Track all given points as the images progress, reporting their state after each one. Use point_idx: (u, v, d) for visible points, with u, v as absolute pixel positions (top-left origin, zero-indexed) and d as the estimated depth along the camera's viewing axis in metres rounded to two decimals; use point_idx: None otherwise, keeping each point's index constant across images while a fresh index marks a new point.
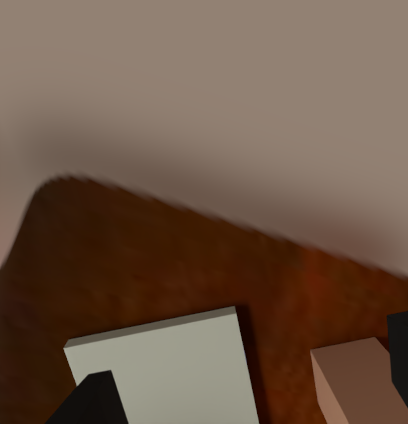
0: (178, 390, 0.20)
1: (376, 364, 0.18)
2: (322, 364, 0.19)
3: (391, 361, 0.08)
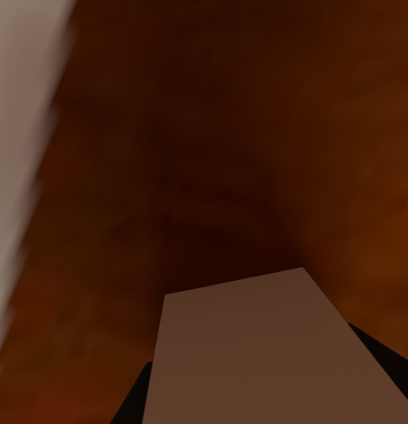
0: None
1: None
2: None
3: None
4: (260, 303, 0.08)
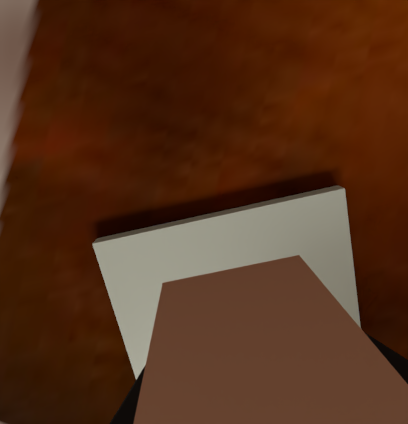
0: None
1: None
2: None
3: None
4: (256, 288, 0.08)
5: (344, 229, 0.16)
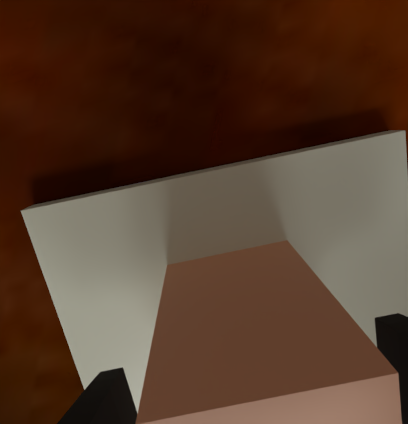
0: None
1: None
2: None
3: None
4: (248, 267, 0.09)
5: (401, 194, 0.10)
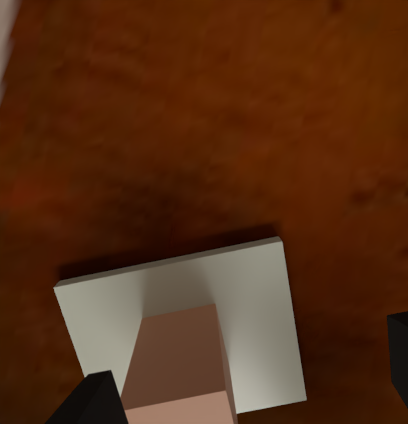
0: None
1: None
2: None
3: (391, 361, 0.08)
4: (187, 324, 0.16)
5: (283, 277, 0.17)
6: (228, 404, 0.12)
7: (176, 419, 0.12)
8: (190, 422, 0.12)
